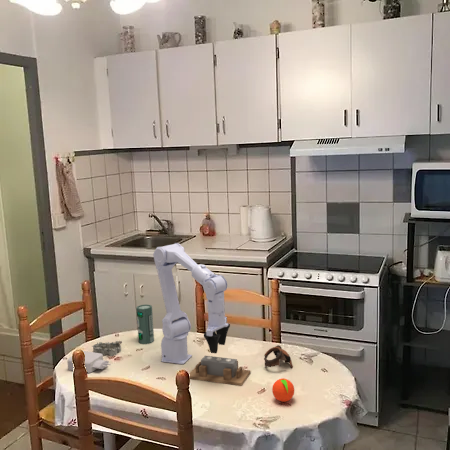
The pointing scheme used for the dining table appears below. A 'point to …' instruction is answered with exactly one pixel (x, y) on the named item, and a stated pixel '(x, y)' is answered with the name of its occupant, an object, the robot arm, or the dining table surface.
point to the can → (145, 324)
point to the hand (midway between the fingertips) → (217, 348)
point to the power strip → (219, 365)
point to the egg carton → (107, 348)
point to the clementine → (283, 390)
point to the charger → (91, 361)
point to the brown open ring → (277, 357)
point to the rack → (201, 374)
